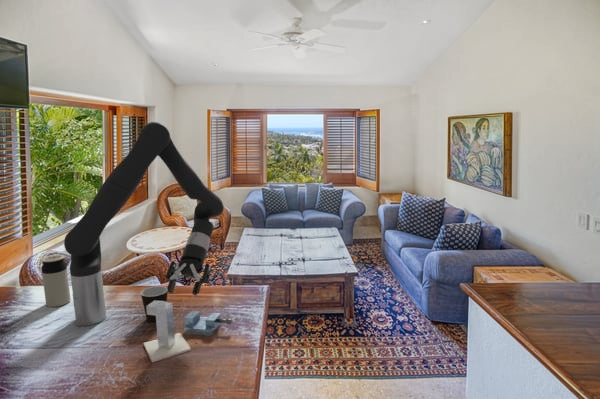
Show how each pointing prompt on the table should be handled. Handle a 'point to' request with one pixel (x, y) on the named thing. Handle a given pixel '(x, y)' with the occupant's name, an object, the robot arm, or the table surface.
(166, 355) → the felt pad
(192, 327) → the vise
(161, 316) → the brushed aluminum pillar
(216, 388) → the table surface
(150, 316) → the coffee mug
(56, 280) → the travel mug
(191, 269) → the robot arm
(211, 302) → the table surface
